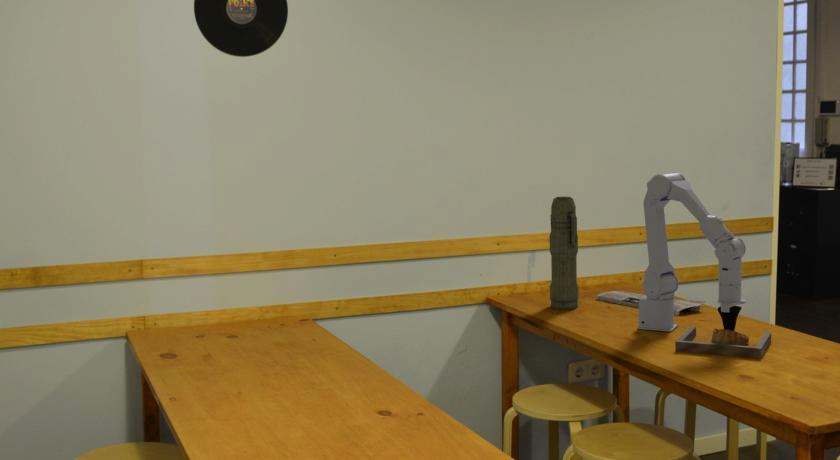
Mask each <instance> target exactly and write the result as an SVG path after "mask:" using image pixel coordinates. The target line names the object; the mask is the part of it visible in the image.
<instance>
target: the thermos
mask: <svg viewBox="0 0 840 460" xmlns="http://www.w3.org/2000/svg"><path fill="white" fill-rule="evenodd" d="M576 209H577V207H576V203H575V200H574V198H572V197H571V196H555V198H553V200H552V202H551V206H550V216H549V217H550V233H549V253H550V255H551V257H550V258H551V259H550V260H551V261H550V262H551V263H550V264H551V265H550V266H551V270H550V271H551V283H550V286H549V300H550V308H551V309H553V310H561V311H563V310H564V311H567V310H570V311H571V310H575V309H578V308H579V299H580V298H579V292H580V291H579V288H580V287H579V284H578V281H577V280H578V279H577V278H578V277H577V276H578V275H577V274H578V273H577V272H578V269H577V263H578V261H577V255H578V254H579V253H578V252H579V235H578V217H577V214H576V213H577V211H576Z"/></svg>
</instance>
